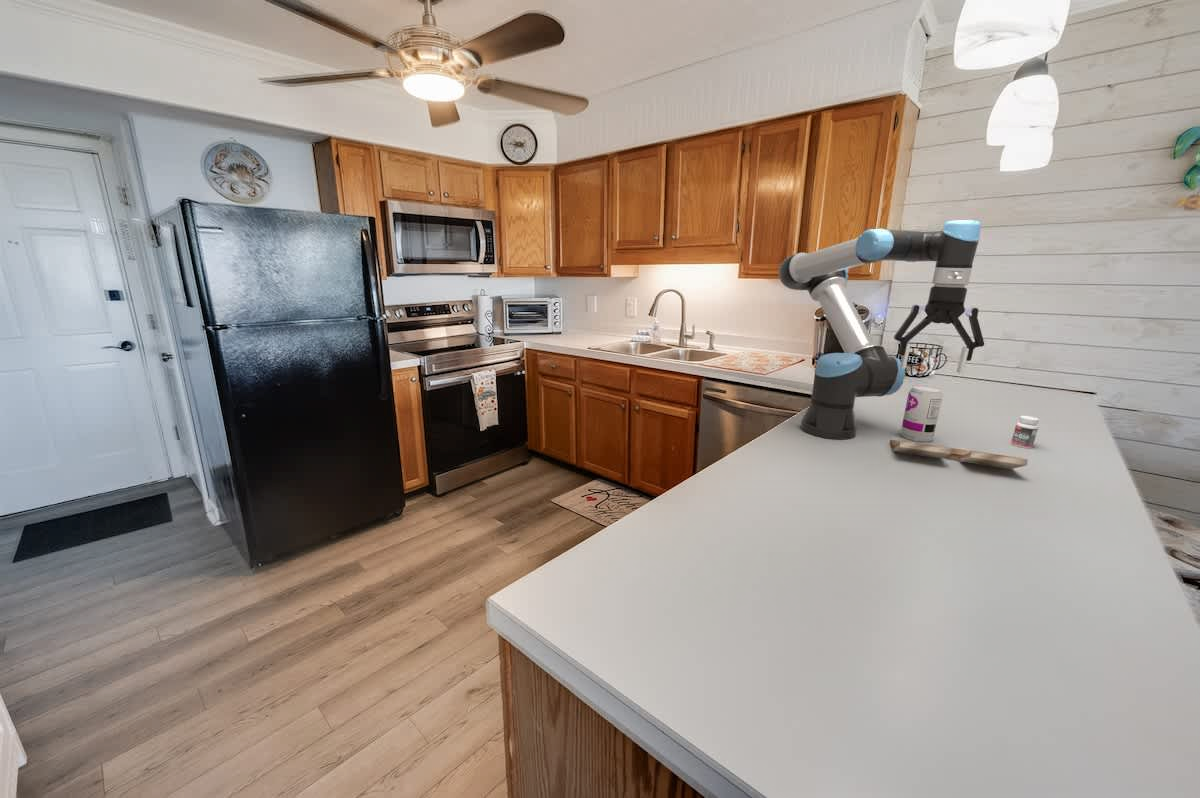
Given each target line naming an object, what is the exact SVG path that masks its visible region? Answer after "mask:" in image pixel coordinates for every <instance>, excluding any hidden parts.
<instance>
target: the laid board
mask: <svg viewBox="0 0 1200 798" xmlns="http://www.w3.org/2000/svg"><path fill="white" fill-rule="evenodd" d="M900 441H901V440H897V439H890V441H889V446H890V448H891V451H892V452H894V451H893V447H894V446H895V445H897V444H898V443H900ZM903 441H904V442H906V441H905V440H903ZM910 442H911V443H913V442H912V441H910ZM917 443H918V442H917ZM918 444H920V443H918ZM925 445H928V444H926V443H925ZM931 445H932V444H931ZM932 446H935V445H932ZM940 447H942V446H940ZM946 447H947V448H949V447H948V446H946ZM951 448H952V449H951V454H950V455H948V456H946V457H943V458H942V459H947V460H952V461H959V462H961V461H960V456H963V455H965V454H968V453H970V451H971V450H969V449H968V450H967V449H961V448H953V447H951ZM974 451H975V450H974ZM975 452H977V451H975ZM981 452H982V453H984V452H983V451H981ZM988 453H989V452H988ZM989 454H991V453H989ZM995 454H996V453H995ZM996 455H999V454H996ZM1003 456H1005V455H1003Z"/></svg>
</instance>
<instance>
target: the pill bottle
mask: <svg viewBox="0 0 1200 798" xmlns="http://www.w3.org/2000/svg"><path fill="white" fill-rule="evenodd" d="M1039 421H1040V419H1039V418H1037V417H1035V416H1030V415H1020V416H1019V419H1018V422H1016V424H1015V427H1014V430H1013V434H1012V438H1011V442H1010V444H1011V445H1012V446H1015V447H1018V448H1023V449H1032V448H1033V446H1034V443H1035V440H1036V435H1037V433H1038V429H1039V426H1038V424H1039Z"/></svg>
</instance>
